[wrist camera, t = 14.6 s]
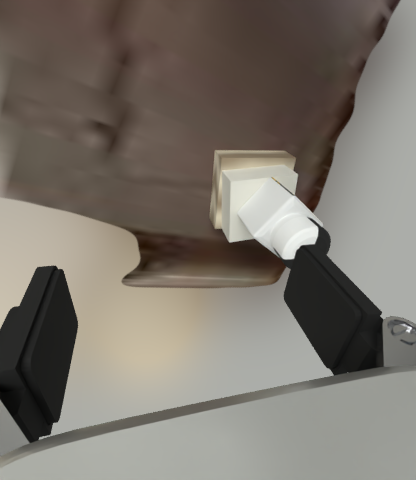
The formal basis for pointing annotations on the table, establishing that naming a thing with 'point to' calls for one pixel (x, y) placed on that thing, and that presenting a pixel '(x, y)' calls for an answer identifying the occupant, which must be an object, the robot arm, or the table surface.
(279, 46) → the table surface
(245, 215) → the medicine bottle
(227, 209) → the tower top block
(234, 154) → the tower base block
